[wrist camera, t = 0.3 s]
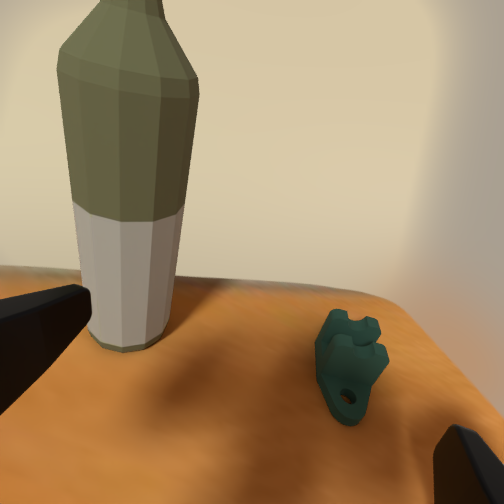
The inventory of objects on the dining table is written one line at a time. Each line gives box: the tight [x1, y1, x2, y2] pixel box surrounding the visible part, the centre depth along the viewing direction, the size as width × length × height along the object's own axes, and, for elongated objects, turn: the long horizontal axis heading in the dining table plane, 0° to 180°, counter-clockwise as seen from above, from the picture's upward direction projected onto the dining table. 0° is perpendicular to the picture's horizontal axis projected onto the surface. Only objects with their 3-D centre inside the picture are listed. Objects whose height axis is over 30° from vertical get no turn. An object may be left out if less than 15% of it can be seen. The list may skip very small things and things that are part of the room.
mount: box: [315, 309, 389, 426], centre depth 28 cm, size 11×4×5 cm, turn 172°
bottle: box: [57, 0, 199, 353], centre depth 19 cm, size 7×7×30 cm
